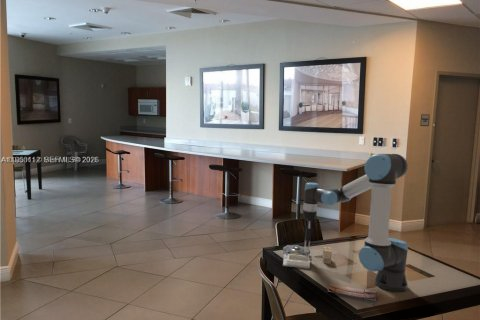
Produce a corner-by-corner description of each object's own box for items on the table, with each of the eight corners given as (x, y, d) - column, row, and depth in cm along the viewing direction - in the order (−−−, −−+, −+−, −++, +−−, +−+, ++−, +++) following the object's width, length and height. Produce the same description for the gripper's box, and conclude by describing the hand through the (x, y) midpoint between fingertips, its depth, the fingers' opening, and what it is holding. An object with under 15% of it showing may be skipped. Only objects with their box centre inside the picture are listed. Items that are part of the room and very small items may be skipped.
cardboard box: (330, 263, 212) (331, 251, 211) (323, 263, 212) (324, 250, 212) (329, 259, 219) (330, 247, 218) (322, 258, 219) (323, 246, 219)
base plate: (309, 268, 202) (309, 263, 202) (282, 265, 204) (283, 260, 204) (307, 250, 232) (308, 245, 231) (284, 247, 234) (285, 243, 233)
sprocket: (310, 258, 215) (311, 246, 214) (282, 255, 217) (283, 243, 216) (309, 249, 230) (310, 238, 230) (283, 246, 232) (284, 235, 232)
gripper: (317, 213, 206) (313, 256, 209) (316, 208, 219) (312, 248, 222) (303, 212, 207) (299, 254, 210) (302, 207, 220) (299, 247, 223)
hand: (306, 251), depth 216 cm, fingers closed
